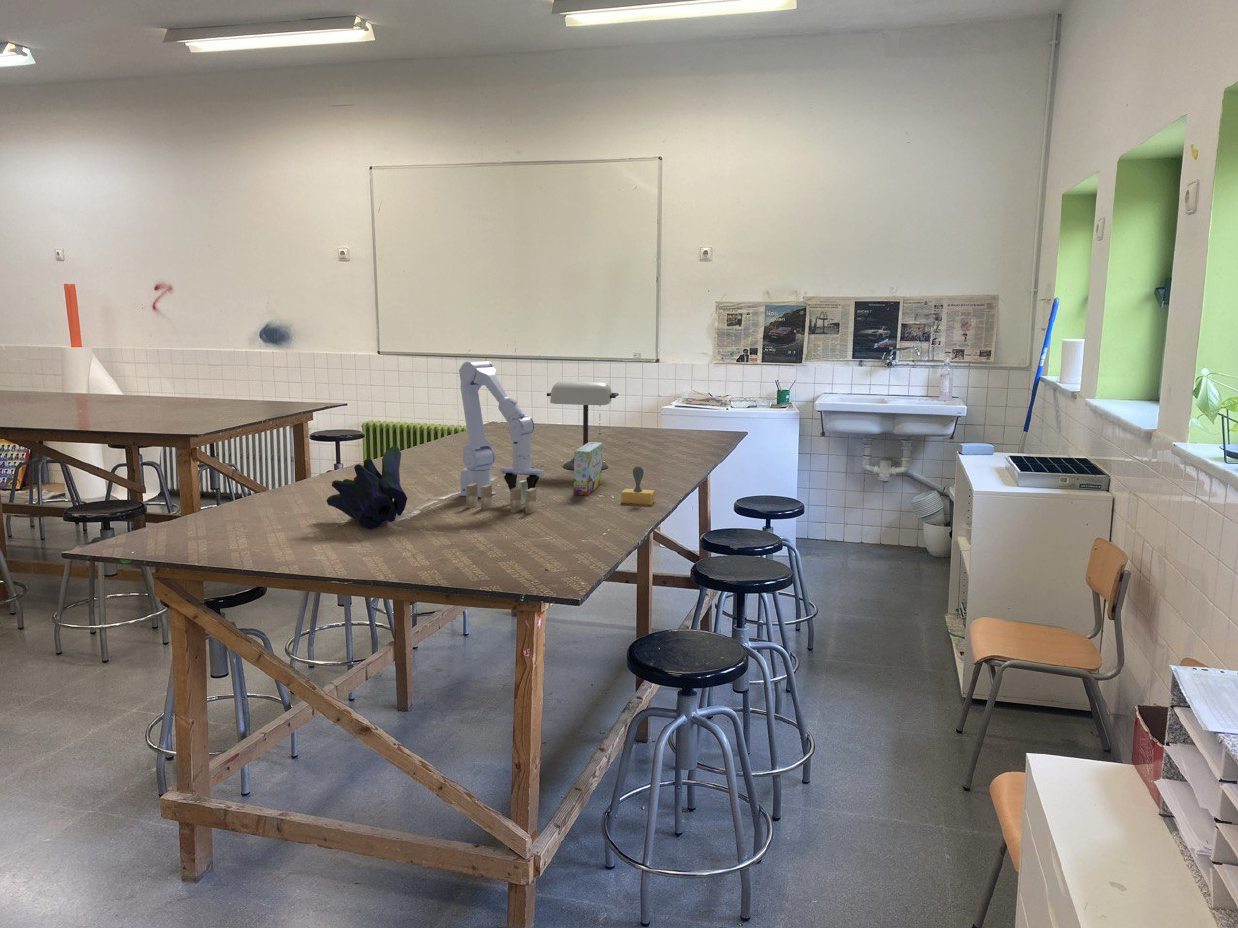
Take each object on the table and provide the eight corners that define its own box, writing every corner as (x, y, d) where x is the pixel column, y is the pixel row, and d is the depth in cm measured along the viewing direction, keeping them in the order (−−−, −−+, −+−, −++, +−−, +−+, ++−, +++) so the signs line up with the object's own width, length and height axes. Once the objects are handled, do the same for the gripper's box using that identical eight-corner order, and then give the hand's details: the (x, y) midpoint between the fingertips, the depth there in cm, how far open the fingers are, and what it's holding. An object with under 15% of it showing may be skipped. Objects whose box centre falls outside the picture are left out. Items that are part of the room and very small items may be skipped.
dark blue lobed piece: (357, 561, 251) (332, 513, 275) (441, 519, 259) (410, 475, 282) (327, 505, 240) (304, 459, 263) (416, 462, 247) (385, 421, 270)
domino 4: (516, 504, 283) (516, 482, 282) (522, 501, 287) (522, 480, 286) (521, 504, 283) (521, 483, 282) (527, 502, 287) (526, 480, 286)
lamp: (542, 472, 336) (542, 382, 330) (557, 461, 360) (557, 377, 354) (612, 475, 332) (612, 384, 326) (622, 464, 356) (623, 379, 350)
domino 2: (481, 509, 276) (480, 487, 275) (487, 506, 280) (487, 484, 279) (485, 509, 276) (485, 487, 275) (492, 506, 280) (491, 484, 279)
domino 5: (525, 513, 272) (525, 490, 270) (531, 510, 276) (531, 488, 275) (530, 513, 271) (530, 491, 270) (536, 510, 275) (536, 488, 274)
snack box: (589, 496, 297) (589, 451, 294) (572, 495, 298) (572, 450, 295) (602, 483, 317) (603, 441, 315) (587, 482, 319) (587, 441, 316)
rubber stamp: (620, 503, 287) (621, 466, 285) (624, 499, 292) (625, 463, 290) (651, 505, 285) (652, 468, 283) (654, 501, 290) (655, 465, 288)
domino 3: (510, 511, 273) (510, 489, 272) (516, 508, 277) (516, 486, 276) (515, 512, 273) (515, 489, 271) (521, 509, 277) (521, 487, 276)
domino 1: (466, 507, 278) (466, 485, 277) (473, 504, 282) (472, 483, 281) (471, 508, 277) (470, 486, 276) (477, 505, 281) (477, 483, 280)
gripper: (495, 455, 281) (495, 497, 283) (537, 458, 276) (537, 501, 279) (504, 452, 287) (505, 493, 290) (546, 455, 283) (546, 497, 285)
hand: (521, 497), depth 285 cm, fingers open, 5 cm apart
